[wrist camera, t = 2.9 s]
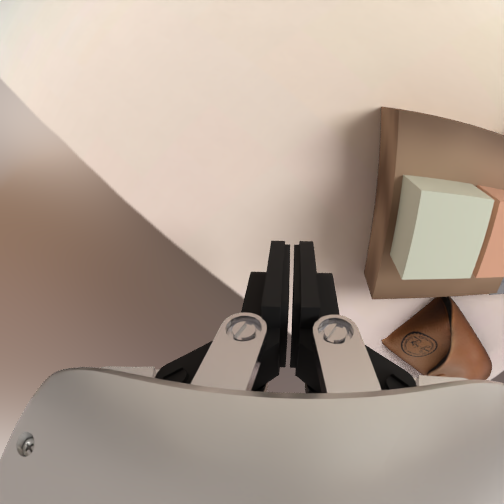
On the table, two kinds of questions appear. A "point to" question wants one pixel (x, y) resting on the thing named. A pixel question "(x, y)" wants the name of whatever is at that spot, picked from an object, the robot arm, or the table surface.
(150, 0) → the table surface
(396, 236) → the pale green rectangular block
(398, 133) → the brown square slab
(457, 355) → the sunglasses case
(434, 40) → the table surface
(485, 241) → the tile
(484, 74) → the table surface
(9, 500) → the robot arm
